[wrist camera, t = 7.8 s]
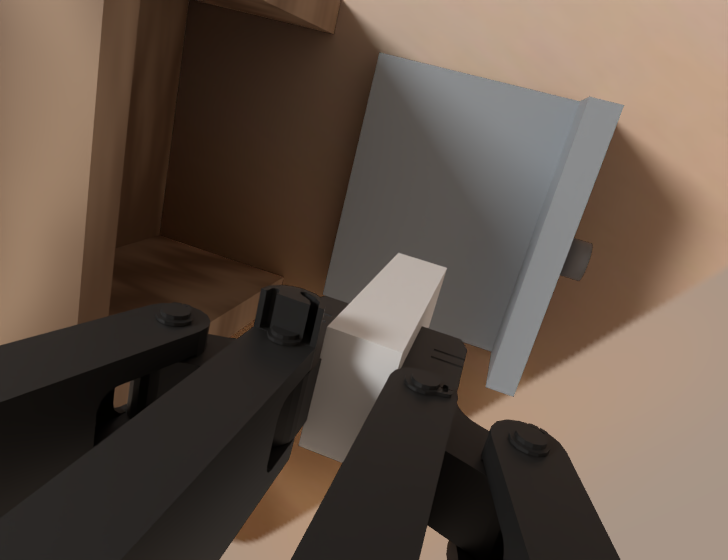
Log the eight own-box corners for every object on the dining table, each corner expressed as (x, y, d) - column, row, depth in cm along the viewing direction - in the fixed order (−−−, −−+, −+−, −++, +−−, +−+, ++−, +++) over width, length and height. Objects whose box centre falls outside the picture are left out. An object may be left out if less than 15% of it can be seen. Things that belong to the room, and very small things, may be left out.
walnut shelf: (133, 252, 42) (-170, 349, 24) (165, -42, 35) (-214, -219, 17) (278, 303, 40) (66, 453, 21) (341, -2, 33) (116, -157, 15)
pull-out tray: (330, 288, 38) (292, 319, 32) (385, 55, 33) (353, 39, 27) (534, 356, 35) (536, 404, 29) (627, 114, 30) (652, 111, 24)
